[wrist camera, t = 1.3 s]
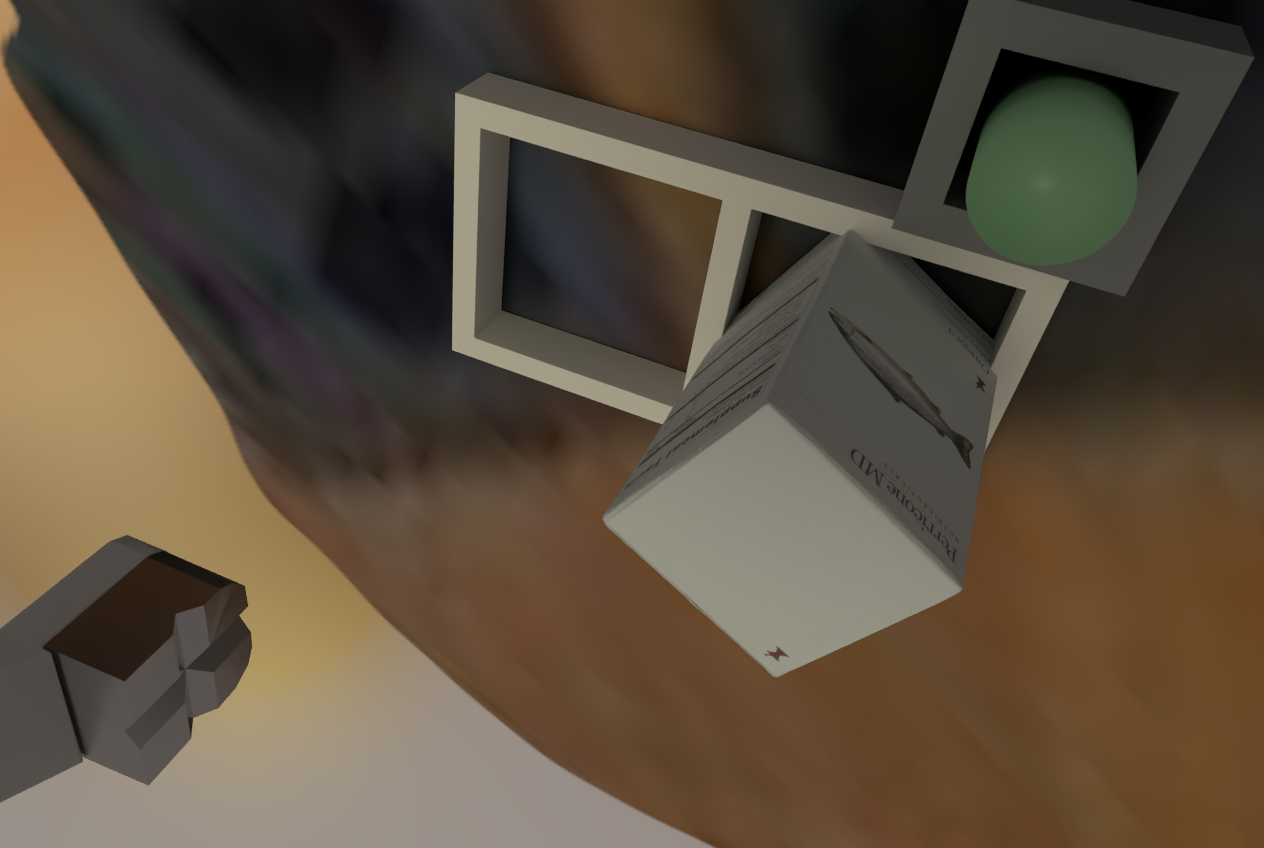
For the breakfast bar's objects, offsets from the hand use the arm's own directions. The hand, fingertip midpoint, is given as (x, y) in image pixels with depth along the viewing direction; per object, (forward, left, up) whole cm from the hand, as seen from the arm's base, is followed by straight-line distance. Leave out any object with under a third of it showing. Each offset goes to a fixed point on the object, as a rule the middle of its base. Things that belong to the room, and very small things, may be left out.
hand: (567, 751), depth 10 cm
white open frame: (+9, -4, -26) cm, 28 cm away
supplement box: (+9, +1, -26) cm, 27 cm away
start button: (0, +5, -24) cm, 24 cm away
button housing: (0, +5, -26) cm, 26 cm away
